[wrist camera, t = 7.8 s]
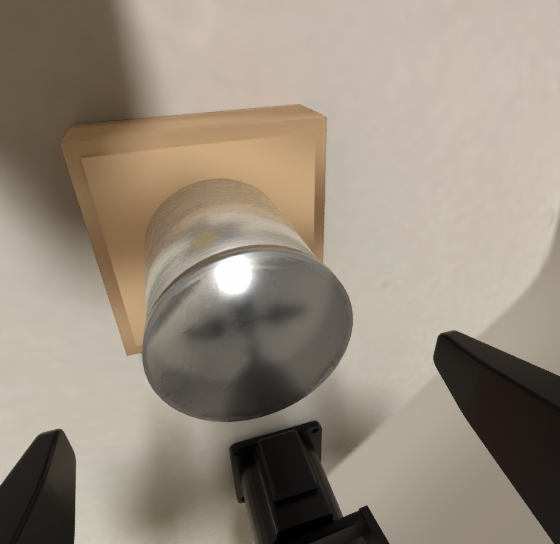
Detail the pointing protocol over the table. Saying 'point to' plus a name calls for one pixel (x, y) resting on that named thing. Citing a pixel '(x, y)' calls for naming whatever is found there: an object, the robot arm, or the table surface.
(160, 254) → the tin
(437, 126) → the table surface
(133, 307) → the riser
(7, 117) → the table surface
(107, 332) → the table surface
